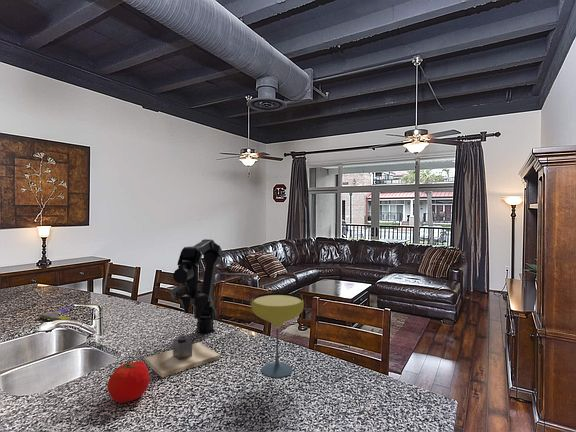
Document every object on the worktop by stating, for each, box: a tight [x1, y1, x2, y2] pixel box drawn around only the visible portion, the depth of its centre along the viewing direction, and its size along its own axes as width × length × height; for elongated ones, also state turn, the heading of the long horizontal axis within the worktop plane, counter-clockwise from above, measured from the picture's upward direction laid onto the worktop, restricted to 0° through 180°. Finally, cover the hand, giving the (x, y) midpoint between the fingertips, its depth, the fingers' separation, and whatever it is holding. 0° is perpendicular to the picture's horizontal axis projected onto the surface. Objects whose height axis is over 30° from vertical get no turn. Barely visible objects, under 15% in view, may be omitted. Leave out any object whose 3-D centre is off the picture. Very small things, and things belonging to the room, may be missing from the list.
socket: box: [172, 334, 193, 360], centre depth 129 cm, size 5×5×7 cm
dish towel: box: [37, 303, 103, 320], centre depth 181 cm, size 18×24×3 cm
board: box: [144, 342, 221, 379], centre depth 129 cm, size 22×16×6 cm
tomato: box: [106, 360, 150, 404], centre depth 103 cm, size 11×13×10 cm
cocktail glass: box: [250, 292, 305, 379], centre depth 121 cm, size 18×18×25 cm
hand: (191, 315), depth 143 cm, fingers open, 9 cm apart
